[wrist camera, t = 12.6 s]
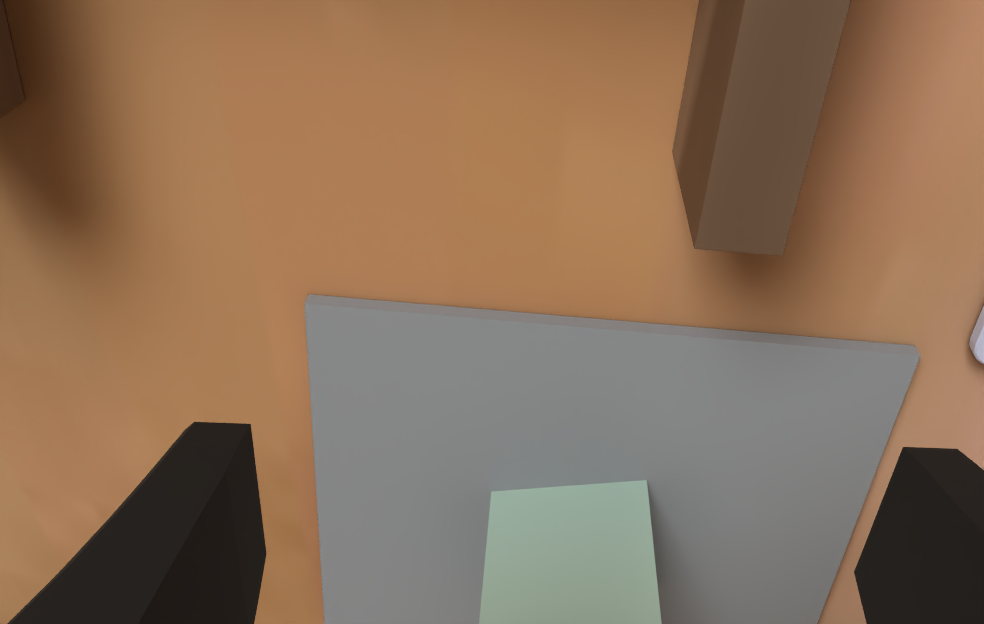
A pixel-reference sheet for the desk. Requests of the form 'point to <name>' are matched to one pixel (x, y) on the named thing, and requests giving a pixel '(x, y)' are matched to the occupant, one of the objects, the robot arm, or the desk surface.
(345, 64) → the desk surface
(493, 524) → the sage block
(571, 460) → the slate mat
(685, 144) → the walnut cubby
